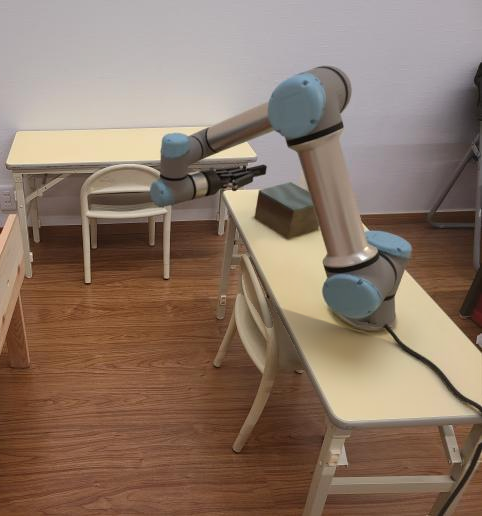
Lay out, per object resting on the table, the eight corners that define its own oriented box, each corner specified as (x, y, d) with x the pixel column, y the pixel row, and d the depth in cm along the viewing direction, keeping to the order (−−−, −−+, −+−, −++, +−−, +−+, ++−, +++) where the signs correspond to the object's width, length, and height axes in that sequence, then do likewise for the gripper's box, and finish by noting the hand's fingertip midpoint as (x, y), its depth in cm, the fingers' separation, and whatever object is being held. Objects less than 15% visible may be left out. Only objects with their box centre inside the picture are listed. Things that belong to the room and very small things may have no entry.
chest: (283, 209, 178) (288, 184, 173) (318, 229, 166) (324, 203, 161) (254, 217, 173) (258, 192, 167) (287, 239, 160) (293, 212, 155)
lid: (290, 184, 173) (290, 182, 173) (326, 203, 161) (326, 200, 161) (258, 192, 167) (258, 190, 167) (293, 212, 155) (293, 210, 155)
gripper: (187, 187, 148) (249, 173, 158) (213, 205, 139) (277, 188, 148) (189, 164, 144) (252, 150, 154) (216, 180, 135) (281, 165, 144)
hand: (264, 169), depth 151 cm, fingers closed
